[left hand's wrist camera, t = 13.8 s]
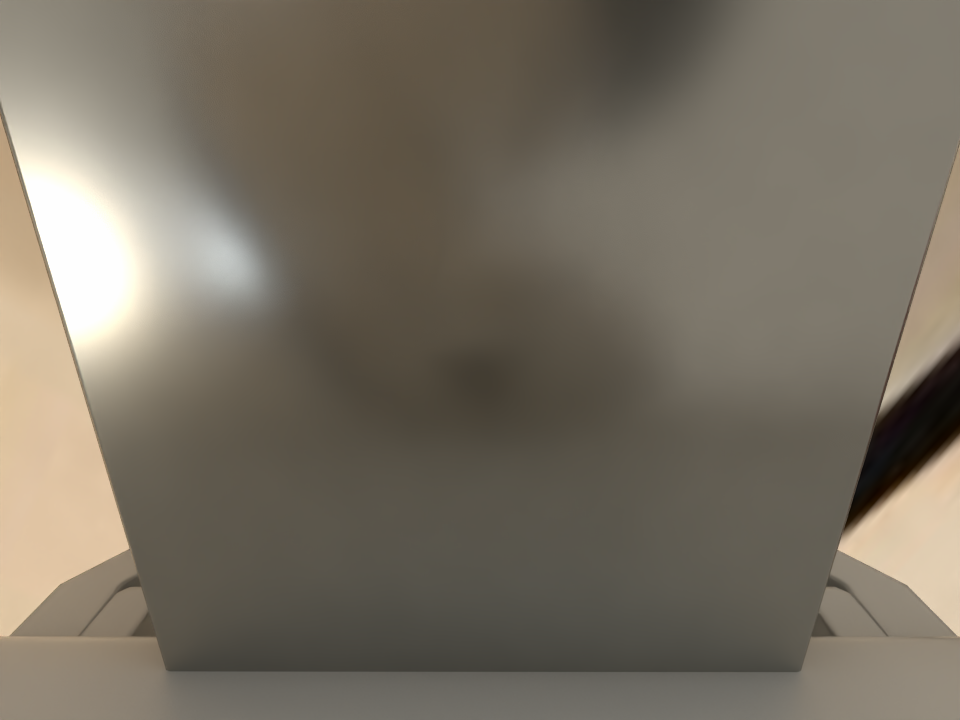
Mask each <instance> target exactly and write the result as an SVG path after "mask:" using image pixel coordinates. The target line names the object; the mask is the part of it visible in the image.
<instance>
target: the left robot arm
mask: <svg viewBox="0 0 960 720" xmlns="http://www.w3.org/2000/svg"><path fill="white" fill-rule="evenodd" d="M0 720H960V637H958V636H957V635H956V634H955V633H954V632H953V631H952V630H951V629H950V628H949V627H948V626H947V625H946V624H945V623H944V622H943V621H942V620H941V619H940V618H939V617H938V616H937V615H936V614H935V613H934V612H933V611H932V610H931V609H930V608H929V607H928V606H927V605H926V604H925V603H924V602H923V601H922V600H921V599H920V598H919V597H918V596H917V595H916V594H915V593H914V592H913V591H912V590H911V589H910V588H909V587H908V586H907V585H905V584H903V583H901V582H899V581H898V580H896V579H894V578H892V577H890V576H888V575H886V574H884V573H882V572H880V571H878V570H876V569H874V568H872V567H870V566H868V565H866V564H864V563H862V562H860V561H858V560H856V559H854V558H852V557H850V556H848V555H846V554H845V553H843V552H841V551H839V550H837V553H836V556H835V559H834V563H833V566H832V569H831V572H830V576H829V579H828V582H827V586H826V589H825V592H824V596H823V599H822V602H821V606H820V609H819V612H818V616H817V619H816V622H815V626H814V629H813V632H812V636H811V639H810V642H809V646H808V649H807V652H806V656H805V659H804V662H803V665H802V669H801V671H799V672H208V671H167V670H166V668H165V665H164V662H163V658H162V655H161V651H160V648H159V645H158V641H157V638H156V635H155V631H154V628H153V625H152V621H151V618H150V615H149V611H148V608H147V605H146V601H145V598H144V595H143V591H142V588H141V585H140V581H139V578H138V574H137V571H136V568H135V564H134V561H133V558H132V554H131V551H130V549H129V550H127V551H125V552H123V553H121V554H119V555H117V556H115V557H113V558H111V559H109V560H107V561H105V562H103V563H101V564H99V565H97V566H95V567H93V568H91V569H89V570H88V571H86V572H84V573H82V574H80V575H78V576H76V577H74V578H72V579H70V580H68V581H66V582H64V583H62V584H60V585H59V586H58V587H57V588H56V589H55V590H54V591H53V592H52V593H51V594H50V595H49V596H48V597H47V598H46V599H45V600H44V601H43V602H42V603H41V605H40V606H39V607H38V608H37V609H36V610H35V611H34V612H33V613H32V614H31V615H30V616H29V617H28V618H27V619H26V620H25V621H24V622H23V623H22V624H21V625H20V626H19V627H18V628H17V629H16V630H15V631H14V632H13V633H12V634H11V635H10V636H0Z"/></svg>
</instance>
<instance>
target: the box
mask: <svg viewBox="0 0 960 720" xmlns="http://www.w3.org/2000/svg"><path fill="white" fill-rule="evenodd" d="M0 116H1V119H2V122H3V126H4V129H5V133H6V136H7V139H8V143H9V146H10V149H11V153H12V156H13V159H14V163H15V166H16V169H17V173H18V176H19V179H20V183H21V186H22V189H23V193H24V196H25V199H26V203H27V206H28V210H29V213H30V216H31V220H32V223H33V226H34V230H35V233H36V236H37V240H38V243H39V246H40V250H41V253H42V256H43V260H44V263H45V266H46V270H47V273H48V276H49V280H50V283H51V287H52V290H53V293H54V297H55V300H56V303H57V307H58V310H59V313H60V317H61V320H62V323H63V327H64V330H65V333H66V337H67V340H68V343H69V347H70V350H71V354H72V357H73V360H74V364H75V367H76V370H77V374H78V377H79V380H80V384H81V387H82V390H83V394H84V397H85V400H86V404H87V407H88V410H89V414H90V417H91V420H92V424H93V427H94V431H95V434H96V437H97V441H98V444H99V447H100V451H101V454H102V457H103V461H104V464H105V467H106V471H107V474H108V477H109V481H110V484H111V487H112V491H113V494H114V497H115V501H116V504H117V508H118V511H119V514H120V518H121V521H122V524H123V528H124V531H125V534H126V538H127V541H128V544H129V548H130V551H131V554H132V558H133V561H134V564H135V568H136V571H137V574H138V578H139V581H140V585H141V588H142V591H143V595H144V598H145V601H146V605H147V608H148V611H149V615H150V618H151V621H152V625H153V628H154V631H155V635H156V638H157V641H158V645H159V648H160V651H161V655H162V658H163V662H164V665H165V668H166V670H167V671H208V672H799V671H801V669H802V665H803V662H804V659H805V656H806V652H807V649H808V646H809V642H810V639H811V636H812V632H813V629H814V626H815V622H816V619H817V616H818V612H819V609H820V606H821V602H822V599H823V596H824V592H825V589H826V586H827V582H828V579H829V576H830V572H831V569H832V566H833V563H834V559H835V556H836V553H837V549H838V546H839V543H840V539H841V536H842V533H843V529H844V526H845V523H846V519H847V516H848V513H849V509H850V506H851V503H852V499H853V496H854V493H855V489H856V486H857V483H858V479H859V476H860V473H861V470H862V466H863V463H864V460H865V456H866V453H867V450H868V446H869V443H870V440H871V436H872V433H873V430H874V426H875V423H876V420H877V416H878V413H879V410H880V406H881V403H882V400H883V396H884V393H885V390H886V386H887V383H888V380H889V377H890V373H891V370H892V367H893V363H894V360H895V357H896V353H897V350H898V347H899V343H900V340H901V337H902V333H903V330H904V327H905V323H906V320H907V317H908V313H909V310H910V307H911V303H912V300H913V297H914V294H915V290H916V287H917V284H918V280H919V277H920V274H921V270H922V267H923V264H924V260H925V257H926V254H927V250H928V247H929V244H930V240H931V237H932V234H933V230H934V227H935V224H936V220H937V217H938V214H939V210H940V207H941V204H942V201H943V197H944V194H945V191H946V187H947V184H948V181H949V177H950V174H951V171H952V167H953V164H954V161H955V157H956V154H957V151H958V147H959V144H960V0H0Z"/></svg>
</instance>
